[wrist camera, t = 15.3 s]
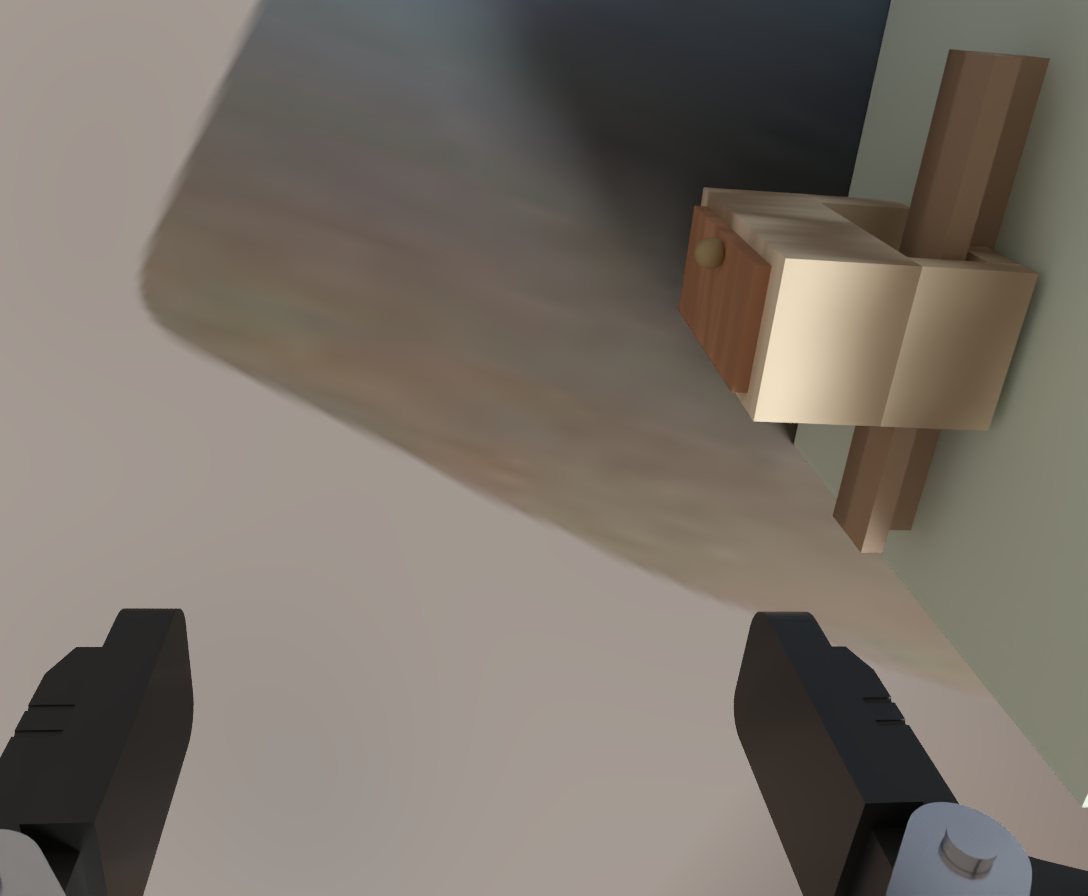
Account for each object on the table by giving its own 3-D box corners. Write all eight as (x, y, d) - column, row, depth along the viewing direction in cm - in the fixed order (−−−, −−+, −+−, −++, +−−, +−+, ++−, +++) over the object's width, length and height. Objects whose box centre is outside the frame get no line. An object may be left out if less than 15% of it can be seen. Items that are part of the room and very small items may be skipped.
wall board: (741, 444, 44) (993, 810, 25) (831, -27, 36) (1330, -29, 16) (948, 448, 46) (1338, 797, 26) (1084, -3, 37) (1822, 22, 18)
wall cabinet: (649, 313, 37) (708, 419, 28) (667, 184, 35) (736, 255, 26) (864, 324, 38) (988, 430, 29) (895, 200, 36) (1038, 273, 27)
